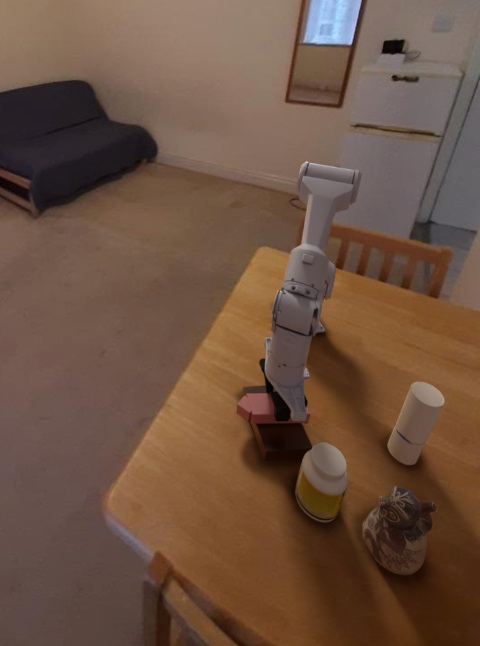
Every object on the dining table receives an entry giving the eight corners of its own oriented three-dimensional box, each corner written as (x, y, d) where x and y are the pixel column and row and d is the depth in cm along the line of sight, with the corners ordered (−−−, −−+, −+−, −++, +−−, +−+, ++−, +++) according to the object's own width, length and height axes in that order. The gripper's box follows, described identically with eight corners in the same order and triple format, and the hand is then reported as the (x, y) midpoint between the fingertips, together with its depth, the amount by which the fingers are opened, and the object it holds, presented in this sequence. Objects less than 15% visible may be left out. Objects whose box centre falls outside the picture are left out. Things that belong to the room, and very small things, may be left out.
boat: (299, 401, 74) (303, 384, 72) (308, 423, 70) (312, 405, 68) (233, 402, 74) (235, 385, 72) (239, 423, 71) (241, 406, 69)
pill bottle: (342, 528, 60) (359, 486, 55) (298, 519, 61) (310, 477, 56) (331, 482, 65) (345, 440, 61) (291, 474, 67) (301, 433, 62)
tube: (413, 443, 70) (439, 385, 64) (420, 468, 67) (448, 410, 60) (384, 435, 72) (407, 378, 65) (390, 460, 68) (415, 402, 61)
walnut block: (241, 396, 79) (242, 386, 78) (281, 393, 80) (283, 383, 78) (264, 462, 69) (266, 451, 67) (310, 458, 69) (313, 448, 67)
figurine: (361, 505, 62) (380, 459, 57) (416, 529, 59) (441, 484, 54) (363, 559, 57) (384, 513, 51) (424, 588, 54) (452, 544, 48)
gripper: (333, 393, 59) (317, 449, 65) (296, 319, 72) (285, 371, 78) (284, 394, 59) (273, 449, 65) (256, 319, 72) (248, 371, 78)
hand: (277, 407), depth 72 cm, fingers closed on boat, 4 cm apart
